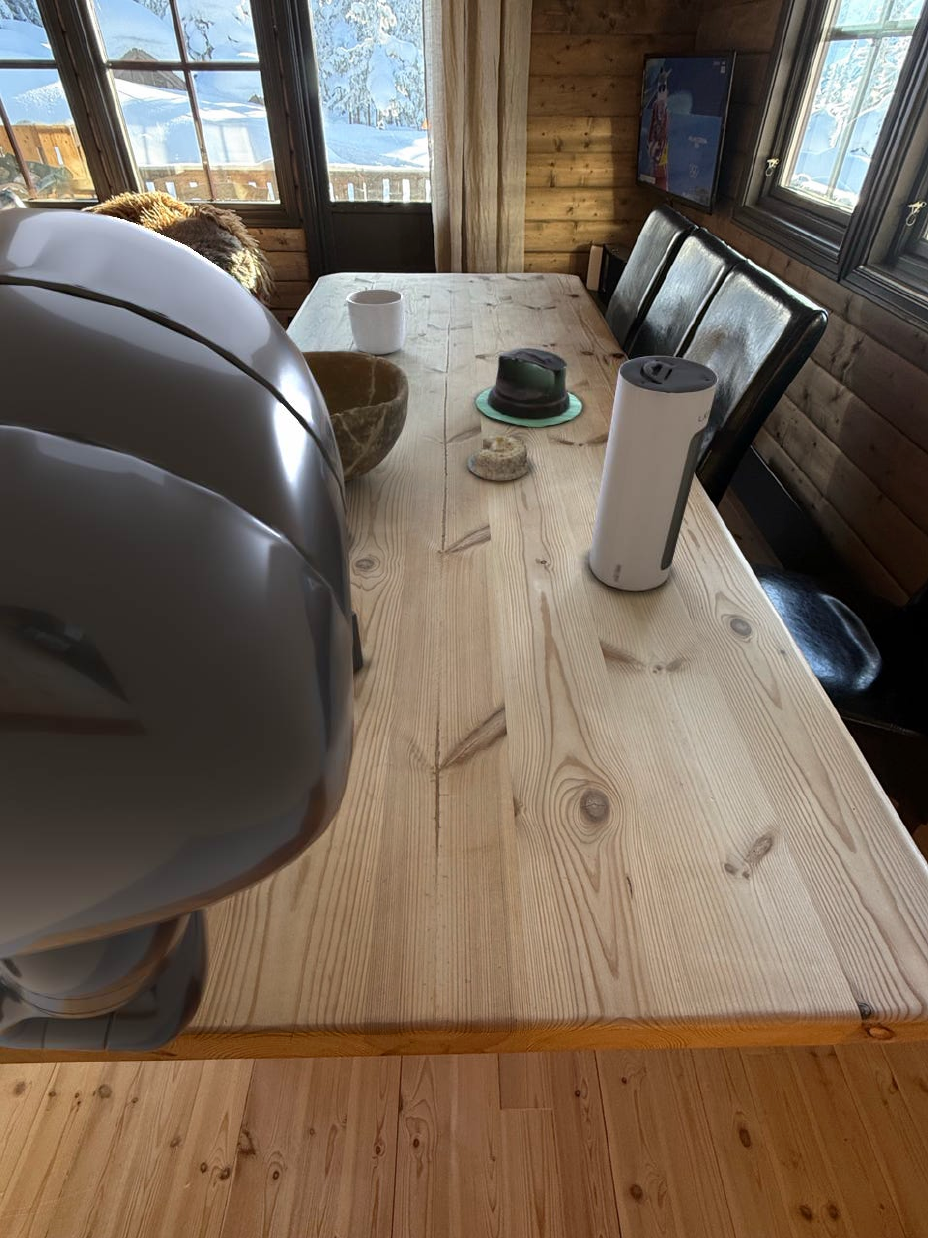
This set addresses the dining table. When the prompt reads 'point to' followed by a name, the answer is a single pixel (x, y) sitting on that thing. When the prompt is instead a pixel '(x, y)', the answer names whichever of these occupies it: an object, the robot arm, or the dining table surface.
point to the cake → (500, 459)
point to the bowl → (361, 405)
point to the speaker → (649, 468)
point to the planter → (377, 320)
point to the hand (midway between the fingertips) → (224, 582)
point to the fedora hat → (530, 390)
